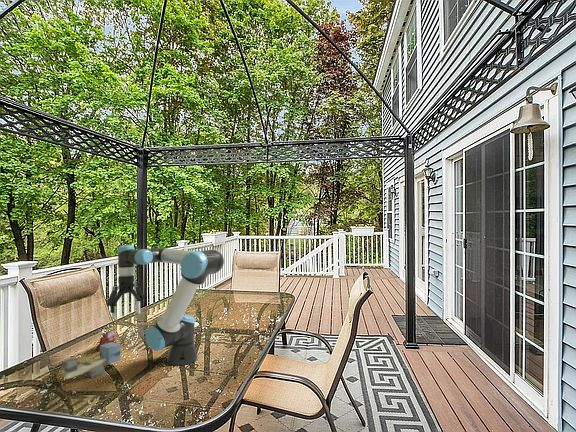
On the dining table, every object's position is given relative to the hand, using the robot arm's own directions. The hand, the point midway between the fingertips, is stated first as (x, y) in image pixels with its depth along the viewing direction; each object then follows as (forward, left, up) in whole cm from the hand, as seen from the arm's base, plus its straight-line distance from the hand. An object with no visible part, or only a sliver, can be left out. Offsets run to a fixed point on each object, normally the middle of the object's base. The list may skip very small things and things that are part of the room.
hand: (126, 316), depth 183 cm
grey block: (-3, +10, -19) cm, 22 cm away
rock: (+13, +12, -23) cm, 29 cm away
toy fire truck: (+21, -3, -23) cm, 31 cm away
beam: (-3, +18, -23) cm, 29 cm away
